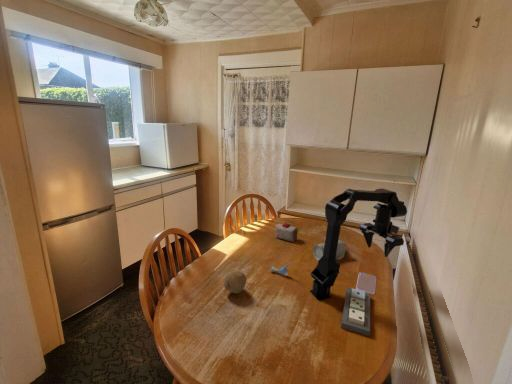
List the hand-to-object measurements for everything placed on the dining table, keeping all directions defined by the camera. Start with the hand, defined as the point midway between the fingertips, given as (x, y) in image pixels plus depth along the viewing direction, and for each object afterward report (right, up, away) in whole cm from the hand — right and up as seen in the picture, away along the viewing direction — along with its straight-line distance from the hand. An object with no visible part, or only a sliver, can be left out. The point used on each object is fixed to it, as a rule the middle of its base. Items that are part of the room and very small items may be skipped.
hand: (377, 251), depth 113 cm
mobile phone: (-4, -15, +3) cm, 16 cm away
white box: (-35, -2, +45) cm, 57 cm away
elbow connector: (-14, -8, +26) cm, 31 cm away
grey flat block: (-15, -19, -16) cm, 29 cm away
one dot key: (-13, -16, -10) cm, 23 cm away
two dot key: (-18, -19, -22) cm, 34 cm away
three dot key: (-15, -18, -16) cm, 28 cm away
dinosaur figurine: (-42, -12, +7) cm, 44 cm away
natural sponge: (-62, -15, -7) cm, 64 cm away
